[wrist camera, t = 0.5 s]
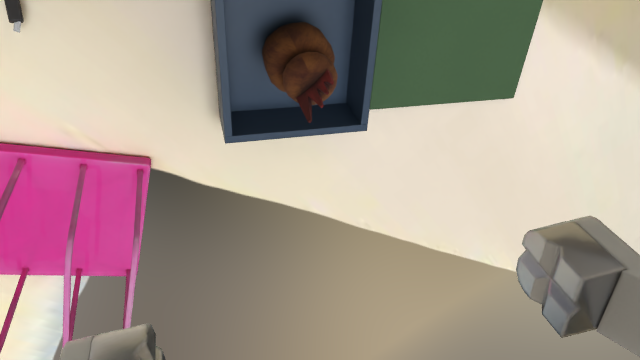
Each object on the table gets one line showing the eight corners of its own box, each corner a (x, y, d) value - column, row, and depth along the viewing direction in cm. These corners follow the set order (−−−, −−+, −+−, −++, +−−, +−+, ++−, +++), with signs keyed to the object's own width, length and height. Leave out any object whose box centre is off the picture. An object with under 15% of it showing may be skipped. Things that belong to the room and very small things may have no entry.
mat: (385, -44, 50) (387, -42, 49) (552, -44, 54) (556, -43, 54) (368, 107, 59) (369, 109, 59) (511, 96, 64) (513, 98, 64)
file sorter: (-126, 128, 46) (-229, 236, 34) (151, 156, 56) (149, 249, 43) (-98, 262, 55) (-172, 387, 43) (137, 267, 64) (132, 371, 52)
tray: (207, -41, 46) (212, -27, 41) (364, -41, 49) (385, -28, 45) (219, 117, 55) (225, 143, 50) (351, 107, 59) (367, 130, 54)
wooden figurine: (270, 79, 54) (300, 149, 42) (248, 32, 50) (275, 94, 38) (326, 54, 54) (372, 117, 42) (309, 5, 50) (354, 59, 38)
